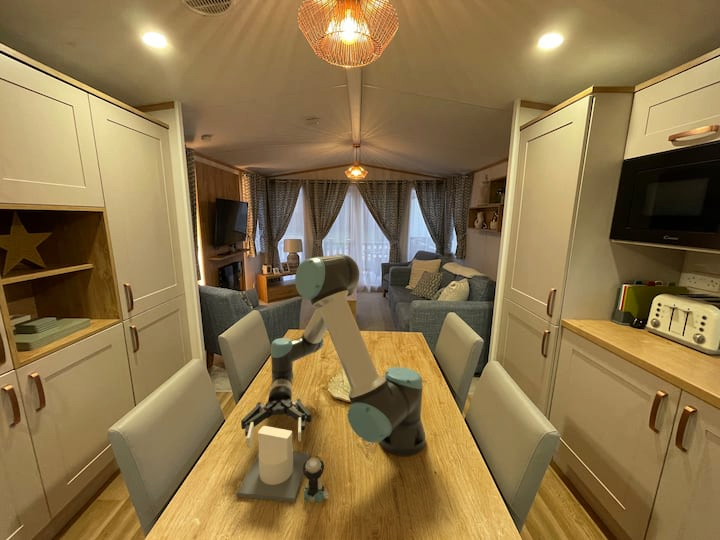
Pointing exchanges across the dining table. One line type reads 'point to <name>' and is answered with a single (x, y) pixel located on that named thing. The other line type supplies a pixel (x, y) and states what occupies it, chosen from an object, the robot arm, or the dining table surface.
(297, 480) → the slate mat
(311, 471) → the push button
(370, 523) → the dining table surface
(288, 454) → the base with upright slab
